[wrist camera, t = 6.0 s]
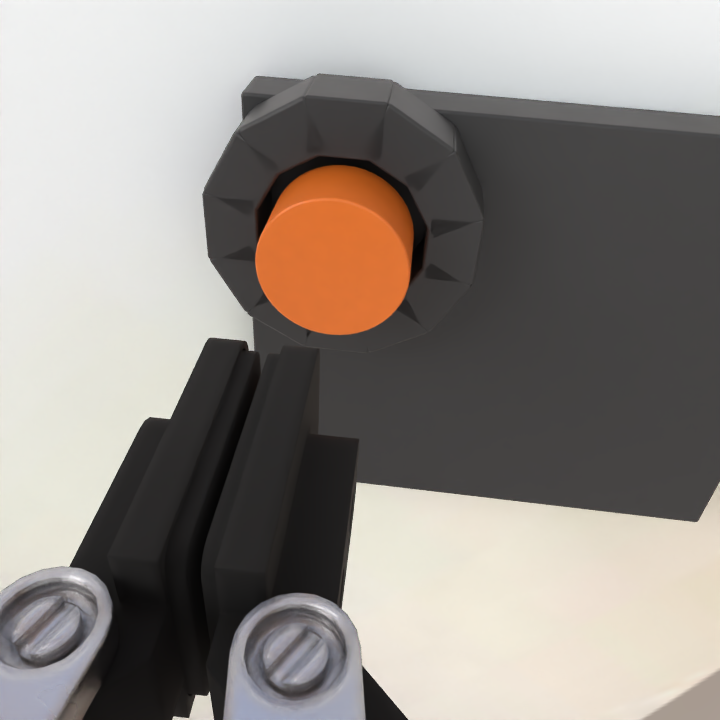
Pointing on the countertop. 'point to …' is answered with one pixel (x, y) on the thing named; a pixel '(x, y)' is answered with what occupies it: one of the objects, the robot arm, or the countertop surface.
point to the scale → (506, 290)
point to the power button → (336, 250)
